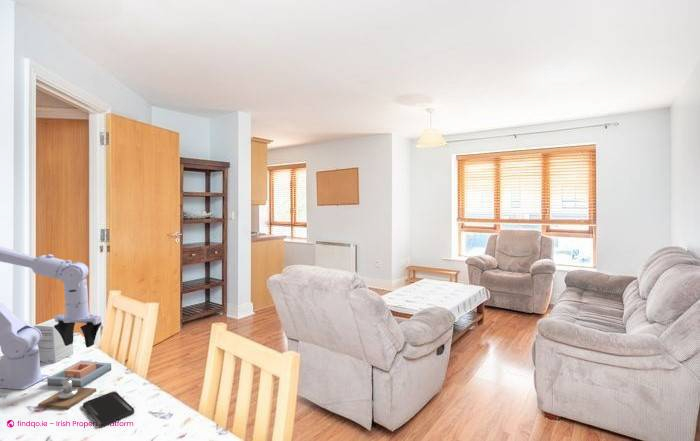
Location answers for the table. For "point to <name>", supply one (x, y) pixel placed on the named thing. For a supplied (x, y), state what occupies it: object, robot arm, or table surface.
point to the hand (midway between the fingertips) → (79, 345)
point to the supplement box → (52, 343)
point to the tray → (77, 382)
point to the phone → (108, 408)
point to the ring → (80, 370)
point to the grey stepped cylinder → (67, 390)
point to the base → (66, 404)
